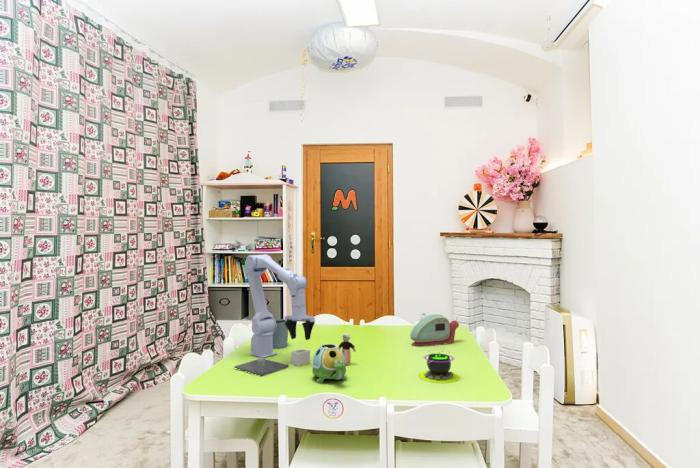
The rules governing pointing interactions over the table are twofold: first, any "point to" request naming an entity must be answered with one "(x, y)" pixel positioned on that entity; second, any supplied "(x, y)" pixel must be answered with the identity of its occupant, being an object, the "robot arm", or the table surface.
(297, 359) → the duct sleeve
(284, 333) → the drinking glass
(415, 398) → the table surface
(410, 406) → the table surface
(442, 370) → the toy cauldron
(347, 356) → the grandmother figurine
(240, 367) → the duct plate
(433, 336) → the toy snail
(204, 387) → the table surface
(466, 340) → the table surface
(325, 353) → the turtle holder
